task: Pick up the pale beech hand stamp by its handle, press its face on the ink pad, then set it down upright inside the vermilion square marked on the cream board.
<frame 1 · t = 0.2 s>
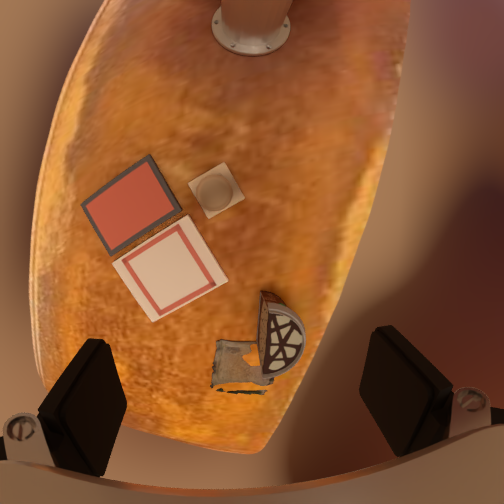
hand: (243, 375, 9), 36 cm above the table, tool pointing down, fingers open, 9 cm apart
parchment: (245, 366, 52), on the table
ink pad: (129, 206, 42), on the table
marked board: (169, 270, 45), on the table
stamp: (216, 189, 43), on the table
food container: (276, 315, 49), on the table
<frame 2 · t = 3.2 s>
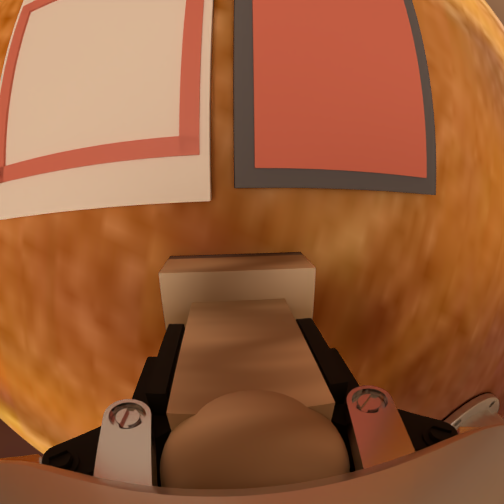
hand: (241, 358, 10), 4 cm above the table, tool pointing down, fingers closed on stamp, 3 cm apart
ink pad: (336, 52, 11), on the table
marked board: (92, 61, 10), on the table
stamp: (237, 314, 14), on the table, touching gripper
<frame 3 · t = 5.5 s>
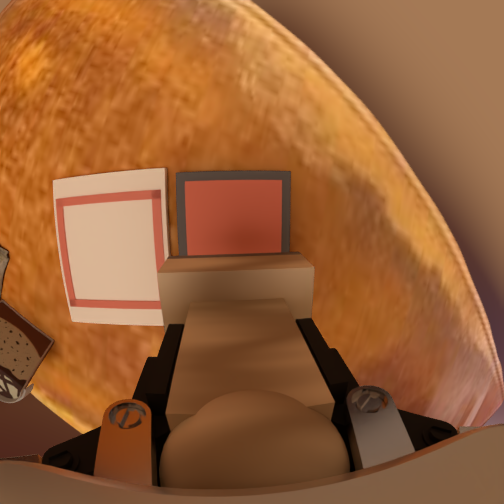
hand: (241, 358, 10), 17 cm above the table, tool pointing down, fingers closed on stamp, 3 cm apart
ink pad: (234, 247, 27), on the table
marked board: (112, 250, 26), on the table
stamp: (235, 313, 14), point 14 cm above the table, touching gripper
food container: (24, 335, 28), on the table
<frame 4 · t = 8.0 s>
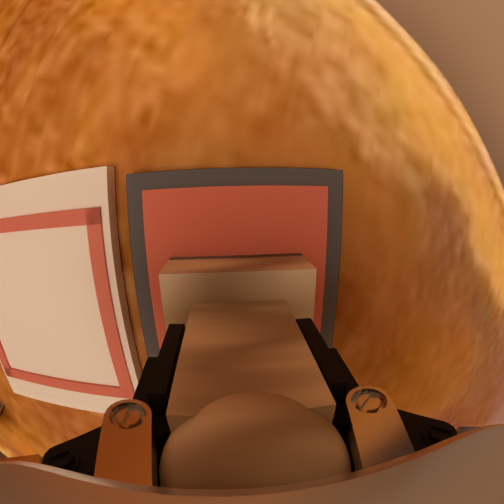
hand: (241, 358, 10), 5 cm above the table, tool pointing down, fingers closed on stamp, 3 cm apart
ink pad: (237, 307, 15), on the table
marked board: (44, 305, 14), on the table
stamp: (237, 315, 14), point 1 cm above the table, touching gripper, ink pad
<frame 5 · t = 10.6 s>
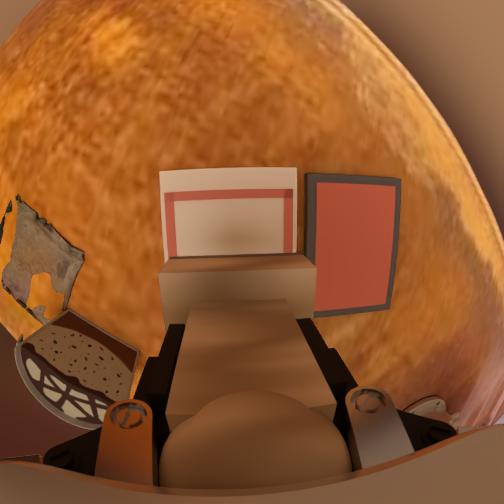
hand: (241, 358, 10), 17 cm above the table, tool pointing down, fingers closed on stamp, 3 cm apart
parchment: (33, 264, 26), on the table
ink pad: (351, 246, 28), on the table
marked board: (230, 250, 27), on the table
stamp: (237, 314, 14), point 14 cm above the table, touching gripper
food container: (96, 347, 29), on the table
when the fingers open (6 cm above the table, at t = 12.9 s): stamp drops 1 cm, resting on marked board.
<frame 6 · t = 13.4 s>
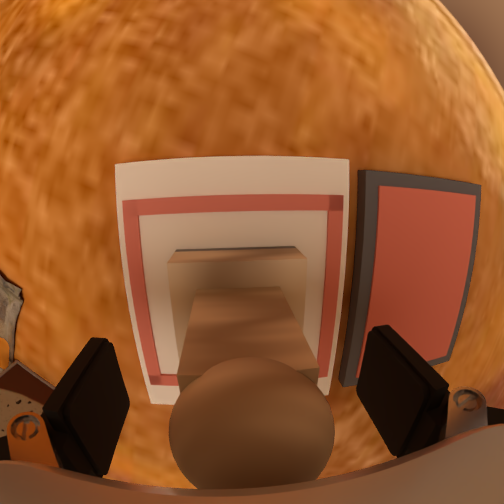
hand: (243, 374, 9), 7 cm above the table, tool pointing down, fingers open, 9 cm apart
ink pad: (415, 282, 17), on the table
marked board: (235, 295, 16), on the table
stamp: (237, 302, 15), point 1 cm above the table, touching marked board
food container: (57, 408, 18), on the table
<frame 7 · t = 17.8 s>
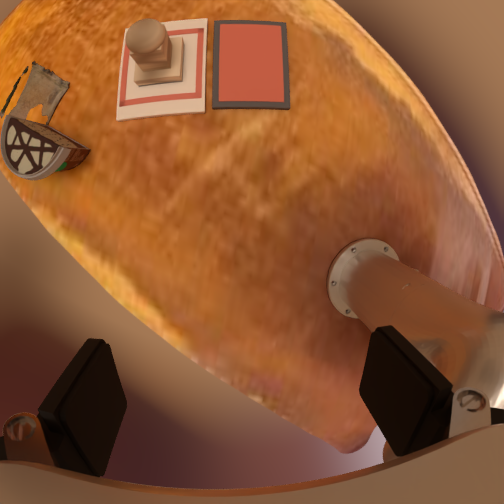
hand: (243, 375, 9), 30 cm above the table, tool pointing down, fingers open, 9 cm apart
parchment: (32, 103, 31), on the table
ink pad: (250, 62, 33), on the table
marked board: (162, 67, 32), on the table
stamp: (161, 64, 31), point 1 cm above the table, touching marked board
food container: (60, 156, 34), on the table
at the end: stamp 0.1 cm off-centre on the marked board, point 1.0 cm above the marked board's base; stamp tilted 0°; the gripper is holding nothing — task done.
